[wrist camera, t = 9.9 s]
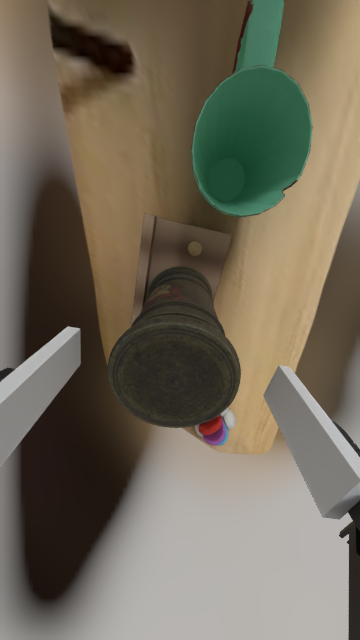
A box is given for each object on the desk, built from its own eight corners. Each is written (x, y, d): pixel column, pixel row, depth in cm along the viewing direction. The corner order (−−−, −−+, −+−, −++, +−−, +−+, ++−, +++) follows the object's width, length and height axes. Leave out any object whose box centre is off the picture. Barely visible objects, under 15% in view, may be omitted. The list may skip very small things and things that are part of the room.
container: (220, 277, 27) (277, 344, 11) (197, 331, 31) (213, 445, 14) (158, 255, 26) (115, 291, 10) (142, 314, 30) (89, 414, 13)
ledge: (151, 217, 27) (143, 212, 22) (227, 234, 28) (238, 234, 22) (135, 335, 34) (127, 355, 29) (196, 347, 35) (198, 367, 30)
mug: (257, 223, 27) (295, 217, 18) (186, 222, 27) (189, 215, 18) (281, 75, 21) (355, -46, 12) (191, 73, 21) (198, -49, 12)
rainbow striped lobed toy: (219, 385, 39) (227, 416, 32) (236, 416, 42) (246, 450, 36) (181, 399, 40) (181, 431, 34) (200, 428, 44) (203, 463, 37)
